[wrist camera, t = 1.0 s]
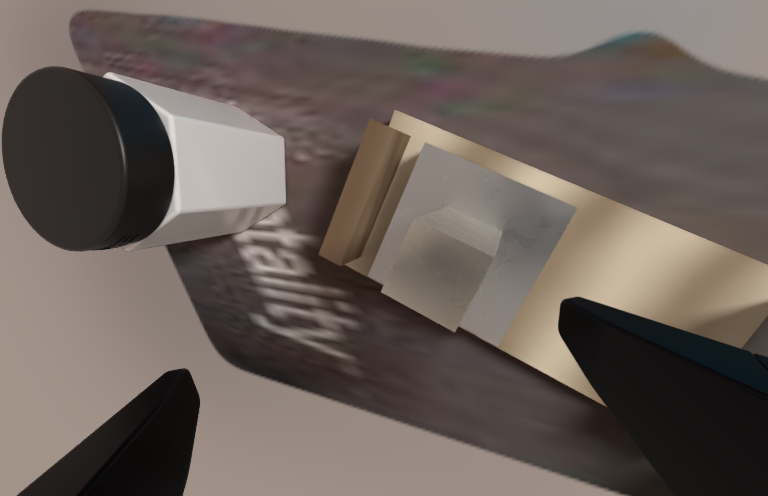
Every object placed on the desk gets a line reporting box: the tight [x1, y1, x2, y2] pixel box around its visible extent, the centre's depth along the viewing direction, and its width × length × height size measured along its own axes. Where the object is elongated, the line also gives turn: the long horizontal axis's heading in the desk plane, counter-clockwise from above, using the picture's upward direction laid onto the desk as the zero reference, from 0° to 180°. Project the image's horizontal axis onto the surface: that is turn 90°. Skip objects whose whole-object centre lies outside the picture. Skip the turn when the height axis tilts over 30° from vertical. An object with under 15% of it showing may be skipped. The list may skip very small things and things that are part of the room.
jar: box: [2, 66, 286, 251], centre depth 22 cm, size 9×8×12 cm
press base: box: [319, 110, 768, 407], centre depth 20 cm, size 24×10×6 cm, turn 66°
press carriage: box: [368, 142, 577, 346], centre depth 17 cm, size 8×8×9 cm
